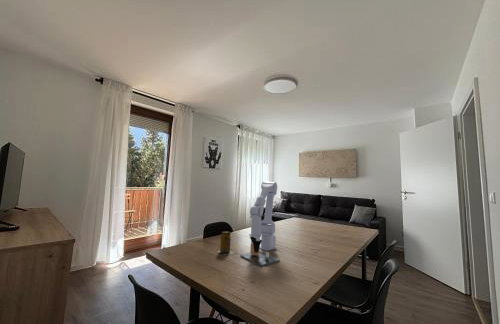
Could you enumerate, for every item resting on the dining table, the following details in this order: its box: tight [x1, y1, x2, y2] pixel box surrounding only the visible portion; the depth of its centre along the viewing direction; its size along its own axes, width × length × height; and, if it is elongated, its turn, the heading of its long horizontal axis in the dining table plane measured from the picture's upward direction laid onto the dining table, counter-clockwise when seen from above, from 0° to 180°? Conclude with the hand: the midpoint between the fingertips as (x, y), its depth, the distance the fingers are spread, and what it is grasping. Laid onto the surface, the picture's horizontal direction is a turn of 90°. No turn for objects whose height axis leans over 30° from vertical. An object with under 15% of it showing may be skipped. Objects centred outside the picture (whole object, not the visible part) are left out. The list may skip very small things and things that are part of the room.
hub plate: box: [239, 251, 281, 268], centre depth 121 cm, size 14×18×5 cm
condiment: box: [216, 231, 234, 256], centre depth 130 cm, size 7×8×12 cm
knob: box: [249, 242, 261, 255], centre depth 124 cm, size 5×5×6 cm
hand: (255, 250), depth 124 cm, fingers closed on knob, 5 cm apart
